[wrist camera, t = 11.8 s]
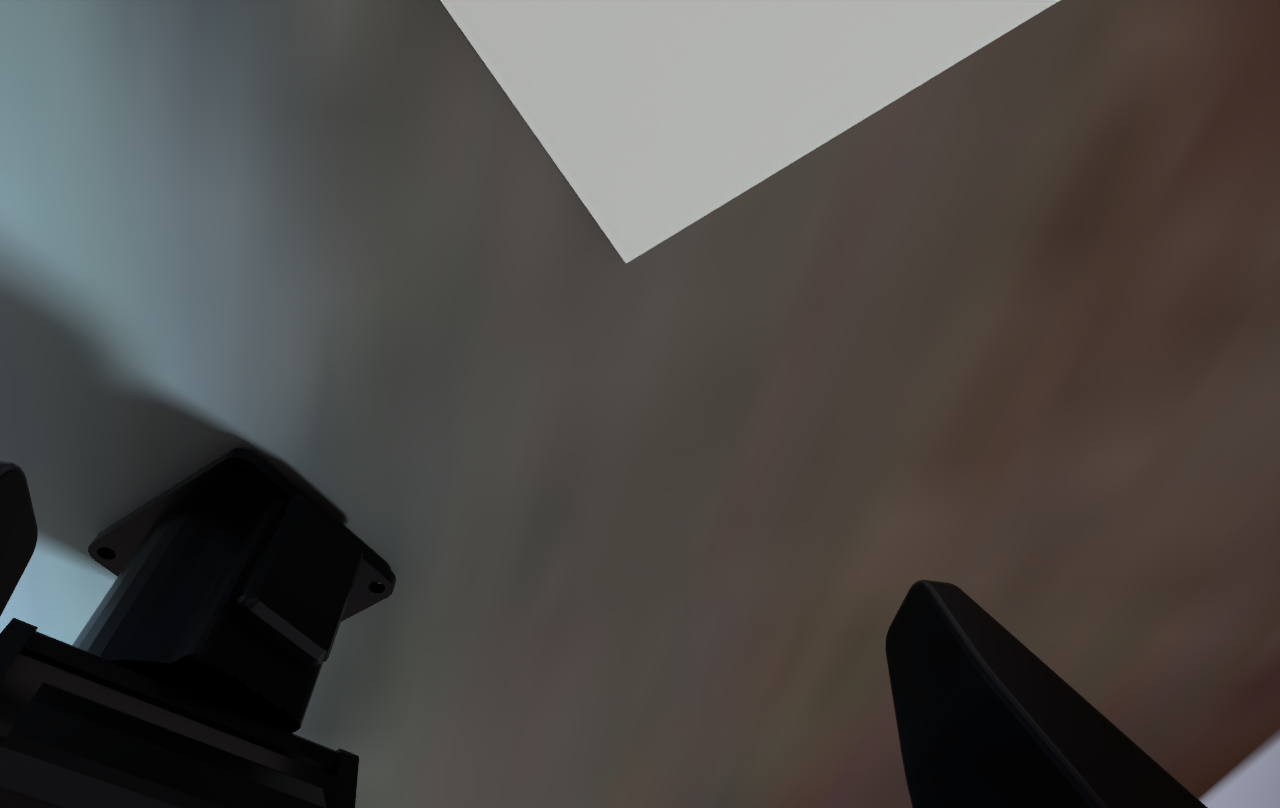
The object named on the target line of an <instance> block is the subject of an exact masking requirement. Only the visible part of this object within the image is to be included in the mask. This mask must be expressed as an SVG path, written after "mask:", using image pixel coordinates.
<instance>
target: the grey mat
mask: <svg viewBox="0 0 1280 808" xmlns="http://www.w3.org/2000/svg"><path fill="white" fill-rule="evenodd" d="M440 1H441V2H442V3H443V5H444V6H445V8H446V9H447V11H448V12H449V13H450V15H451V16H452V18H453V19H454V20H455V22H456V23H457V25H458V26H459V28H460V29H461V30H462V32H463V33H464V35H465V36H466V37H467V39H468V40H469V42H470V43H471V45H472V46H473V47H474V49H475V50H476V52H477V53H478V54H479V56H480V57H481V59H482V60H483V62H484V63H485V64H486V66H487V67H488V69H489V70H490V71H491V73H492V74H493V76H494V77H495V79H496V80H497V81H498V83H499V84H500V86H501V87H502V88H503V90H504V91H505V93H506V94H507V96H508V97H509V98H510V100H511V101H512V103H513V104H514V106H515V107H516V108H517V110H518V111H519V113H520V114H521V115H522V117H523V118H524V120H525V121H526V123H527V124H528V125H529V127H530V128H531V130H532V131H533V132H534V134H535V135H536V137H537V138H538V140H539V141H540V142H541V144H542V145H543V147H544V148H545V149H546V151H547V152H548V154H549V155H550V157H551V158H552V159H553V161H554V162H555V164H556V165H557V166H558V168H559V169H560V171H561V172H562V174H563V175H564V176H565V178H566V179H567V181H568V182H569V183H570V185H571V186H572V188H573V189H574V191H575V192H576V193H577V195H578V196H579V198H580V199H581V200H582V202H583V203H584V205H585V206H586V208H587V209H588V210H589V212H590V213H591V215H592V216H593V218H594V219H595V220H596V222H597V223H598V225H599V226H600V227H601V229H602V230H603V232H604V233H605V235H606V236H607V237H608V239H609V240H610V242H611V243H612V244H613V246H614V247H615V249H616V250H617V252H618V253H619V254H620V256H621V257H622V259H623V260H624V261H625V263H628V262H629V261H631V260H633V259H634V258H636V257H638V256H639V255H641V254H643V253H644V252H646V251H647V250H649V249H651V248H652V247H654V246H656V245H657V244H659V243H661V242H662V241H664V240H666V239H667V238H669V237H671V236H672V235H674V234H676V233H677V232H679V231H680V230H682V229H684V228H685V227H687V226H689V225H690V224H692V223H694V222H695V221H697V220H699V219H700V218H702V217H704V216H705V215H707V214H708V213H710V212H712V211H713V210H715V209H717V208H718V207H720V206H722V205H723V204H725V203H727V202H728V201H730V200H732V199H733V198H735V197H736V196H738V195H740V194H741V193H743V192H745V191H746V190H748V189H750V188H751V187H753V186H755V185H756V184H758V183H760V182H761V181H763V180H765V179H766V178H768V177H769V176H771V175H773V174H774V173H776V172H778V171H779V170H781V169H783V168H784V167H786V166H788V165H789V164H791V163H793V162H794V161H796V160H797V159H799V158H801V157H802V156H804V155H806V154H807V153H809V152H811V151H812V150H814V149H816V148H817V147H819V146H821V145H822V144H824V143H825V142H827V141H829V140H830V139H832V138H834V137H835V136H837V135H839V134H840V133H842V132H844V131H845V130H847V129H849V128H850V127H852V126H854V125H855V124H857V123H858V122H860V121H862V120H863V119H865V118H867V117H868V116H870V115H872V114H873V113H875V112H877V111H878V110H880V109H882V108H883V107H885V106H886V105H888V104H890V103H891V102H893V101H895V100H896V99H898V98H900V97H901V96H903V95H905V94H906V93H908V92H910V91H911V90H913V89H914V88H916V87H918V86H919V85H921V84H923V83H924V82H926V81H928V80H929V79H931V78H933V77H934V76H936V75H938V74H939V73H941V72H943V71H944V70H946V69H947V68H949V67H951V66H952V65H954V64H956V63H957V62H959V61H961V60H962V59H964V58H966V57H967V56H969V55H971V54H972V53H974V52H975V51H977V50H979V49H980V48H982V47H984V46H985V45H987V44H989V43H990V42H992V41H994V40H995V39H997V38H999V37H1000V36H1002V35H1003V34H1005V33H1007V32H1008V31H1010V30H1012V29H1013V28H1015V27H1017V26H1018V25H1020V24H1022V23H1023V22H1025V21H1027V20H1028V19H1030V18H1032V17H1033V16H1035V15H1036V14H1038V13H1040V12H1041V11H1043V10H1045V9H1046V8H1048V7H1050V6H1051V5H1053V4H1055V3H1056V2H1058V1H1060V0H440Z"/></svg>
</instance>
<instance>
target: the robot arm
mask: <svg viewBox="0 0 1280 808" xmlns="http://www.w3.org/2000/svg"><path fill="white" fill-rule="evenodd" d="M237 464H241V465H243V466H245V467H246V468H247V469H248V470H246V469H242V468H240V467H238V466H237ZM36 542H37V524H36V520H35V515H34V511H33V507H32V502H31V498H30V494H29V489H28V485H27V480H26V477H25V474H24V472H23V470H22V469H21V468H20V467H19V466H18V465H16V464H13V463H10V462H3V461H0V616H1V614H2V612H3V610H4V608H5V606H6V605H7V603H8V601H9V599H10V597H11V595H12V593H13V591H14V589H15V587H16V585H17V584H18V582H19V580H20V578H21V576H22V574H23V572H24V570H25V568H26V566H27V564H28V562H29V561H30V559H31V557H32V554H33V552H34V549H35V546H36ZM109 548H110V549H109ZM111 549H112V550H111ZM88 552H89V554H90V556H91V557H92V558H93V559H94V560H95V561H97V562H98V563H100V564H101V565H102V566H104V567H105V568H107V569H108V570H110V571H111V572H112V573H114V574H115V575H117V576H118V578H117V579H116V581H115V582H114V584H113V585H112V587H111V588H110V590H109V591H108V593H107V594H106V596H105V597H104V599H103V600H102V602H101V603H100V605H99V606H98V608H97V609H96V611H95V612H94V614H93V615H92V617H91V618H90V620H89V621H88V623H87V624H86V626H85V627H84V629H83V630H82V632H81V633H80V635H79V636H78V638H77V639H76V641H75V642H74V644H73V645H69V644H67V643H64V642H61V641H59V640H56V639H54V638H51V637H49V636H46V635H44V634H41V633H39V632H36V630H37V628H38V627H36V626H33V625H31V624H28V623H26V622H23V621H21V620H18V619H16V618H13V619H12V620H11V621H10V623H9V624H8V625H7V626H6V627H5V629H4V630H3V631H2V632H1V633H0V808H355V800H356V788H357V775H358V763H359V756H357V755H355V754H352V753H350V752H347V751H345V750H342V749H340V748H339V749H338V750H337V751H335V750H332V749H330V748H327V747H325V746H322V745H320V744H317V743H315V742H312V741H310V740H307V739H305V738H302V737H300V736H297V735H295V734H292V733H293V732H295V731H297V730H298V729H299V728H300V727H301V724H302V722H303V719H304V716H305V713H306V710H307V707H308V704H309V701H310V698H311V696H312V693H313V690H314V687H315V684H316V681H317V678H318V675H319V673H320V670H321V667H322V664H323V662H325V661H326V660H327V659H328V657H329V655H330V652H331V649H332V646H333V643H334V640H335V637H336V634H337V631H338V628H339V625H340V623H341V621H343V620H345V619H347V618H349V617H351V616H353V615H355V614H356V613H358V612H360V611H362V610H364V609H366V608H368V607H370V606H372V605H374V604H376V603H377V602H379V601H381V600H383V599H385V598H387V597H389V596H390V595H391V594H392V592H393V589H394V586H395V582H396V578H395V575H394V574H393V572H392V571H391V570H389V569H388V568H387V567H386V566H385V565H384V564H383V563H381V562H380V561H379V560H378V559H377V558H376V557H375V556H373V555H372V554H371V553H370V552H369V551H368V550H366V549H365V548H364V547H363V546H362V545H361V544H360V543H358V542H357V541H356V540H355V539H354V538H353V537H352V536H350V535H349V534H348V533H347V532H346V531H345V530H344V529H342V528H341V527H340V526H339V525H338V524H337V523H336V522H334V521H333V520H332V519H331V518H330V517H329V516H327V515H326V514H325V513H324V512H323V511H322V510H321V509H319V508H318V507H317V506H316V505H315V504H314V503H313V502H311V501H310V500H309V499H308V498H307V497H306V496H305V495H303V494H302V493H301V492H300V491H299V490H298V489H297V488H295V487H294V486H293V485H292V484H291V483H290V482H288V481H287V480H286V479H285V478H284V477H283V476H282V475H280V474H279V473H278V472H277V471H276V470H275V469H274V468H272V467H271V466H270V465H269V464H268V463H267V462H266V461H264V460H263V459H262V458H261V457H260V456H259V455H257V454H256V453H254V452H253V451H251V450H248V449H245V448H236V449H234V450H231V451H229V452H228V453H226V454H224V455H223V456H221V457H220V458H218V459H217V460H215V461H213V462H212V463H210V464H209V465H207V466H205V467H204V468H202V469H201V470H199V471H198V472H196V473H194V474H193V475H191V476H190V477H188V478H186V479H185V480H183V481H182V482H180V483H179V484H177V485H175V486H174V487H172V488H171V489H169V490H167V491H166V492H164V493H163V494H161V495H160V496H158V497H156V498H155V499H153V500H152V501H150V502H148V503H147V504H145V505H144V506H142V507H140V508H139V509H137V510H136V511H134V512H133V513H131V514H129V515H128V516H126V517H125V518H123V519H121V520H120V521H118V522H117V523H115V524H114V525H112V526H110V527H109V528H107V529H106V530H104V531H102V532H101V533H99V534H98V535H97V536H96V538H95V539H94V540H93V542H92V543H91V544H90V546H89V549H88ZM375 582H380V583H382V584H377V583H375ZM886 657H887V663H888V669H889V676H890V682H891V689H892V695H893V702H894V708H895V715H896V721H897V727H898V734H899V740H900V747H901V753H902V760H903V765H904V771H905V776H906V781H907V786H908V790H909V794H910V798H911V803H912V807H913V808H1207V807H1206V806H1205V805H1204V804H1203V803H1202V802H1200V801H1199V800H1198V799H1197V798H1196V797H1195V796H1194V795H1193V794H1191V793H1190V792H1189V791H1188V790H1187V789H1186V788H1185V787H1184V786H1182V785H1181V784H1180V783H1179V782H1178V781H1177V780H1176V779H1174V778H1173V777H1172V776H1171V775H1170V774H1169V773H1168V772H1167V771H1165V770H1164V769H1163V768H1162V767H1161V766H1160V765H1159V764H1158V763H1156V762H1155V761H1154V760H1153V759H1152V758H1151V757H1150V756H1149V755H1147V754H1146V753H1145V752H1144V751H1143V750H1142V749H1141V748H1139V747H1138V746H1137V745H1136V744H1135V743H1134V742H1133V741H1132V740H1130V739H1129V738H1128V737H1127V736H1126V735H1125V734H1124V733H1123V732H1121V731H1120V730H1119V729H1118V728H1117V727H1116V726H1115V725H1113V724H1112V723H1111V722H1110V721H1109V720H1108V719H1107V718H1106V717H1104V716H1103V715H1102V714H1101V713H1100V712H1099V711H1098V710H1097V709H1095V708H1094V707H1093V706H1092V705H1091V704H1090V703H1089V702H1087V701H1086V700H1085V699H1084V698H1083V697H1082V696H1081V695H1080V694H1078V693H1077V692H1076V691H1075V690H1074V689H1073V688H1072V687H1071V686H1069V685H1068V684H1067V683H1066V682H1065V681H1064V680H1063V679H1062V678H1060V677H1059V676H1058V675H1057V674H1056V673H1055V672H1054V671H1052V670H1051V669H1050V668H1049V667H1048V666H1047V665H1046V664H1045V663H1043V662H1042V661H1041V660H1040V659H1039V658H1038V657H1037V656H1036V655H1034V654H1033V653H1032V652H1031V651H1030V650H1029V649H1028V648H1026V647H1025V646H1024V645H1023V644H1022V643H1021V642H1020V641H1019V640H1017V639H1016V638H1015V637H1014V636H1013V635H1012V634H1011V633H1010V632H1008V631H1007V630H1006V629H1005V628H1004V627H1003V626H1002V625H1000V624H999V623H998V622H997V621H996V620H995V619H994V618H993V617H991V616H990V615H989V614H988V613H987V612H986V611H985V610H984V609H982V608H981V607H980V606H979V605H978V604H977V603H976V602H975V601H973V600H972V599H971V598H970V597H969V596H968V595H967V594H965V593H964V592H963V591H962V590H961V589H960V588H958V587H957V586H955V585H953V584H950V583H944V582H937V581H929V580H920V581H917V582H916V583H915V584H913V585H912V587H911V588H910V590H909V592H908V593H907V595H906V597H905V599H904V601H903V603H902V605H901V606H900V608H899V610H898V612H897V614H896V616H895V618H894V620H893V621H892V623H891V625H890V627H889V630H888V633H887V636H886Z"/></svg>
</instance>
